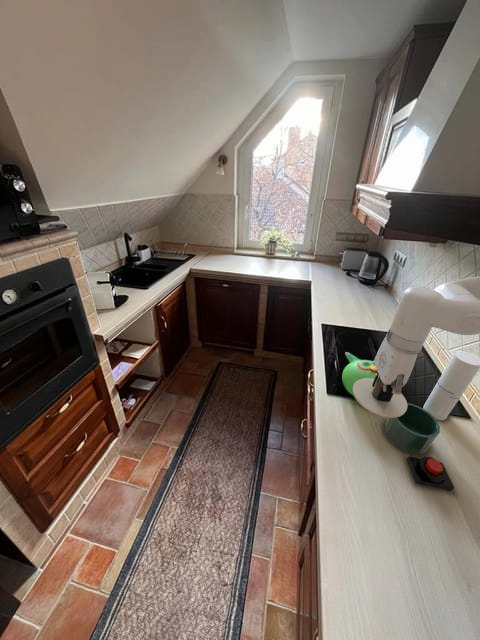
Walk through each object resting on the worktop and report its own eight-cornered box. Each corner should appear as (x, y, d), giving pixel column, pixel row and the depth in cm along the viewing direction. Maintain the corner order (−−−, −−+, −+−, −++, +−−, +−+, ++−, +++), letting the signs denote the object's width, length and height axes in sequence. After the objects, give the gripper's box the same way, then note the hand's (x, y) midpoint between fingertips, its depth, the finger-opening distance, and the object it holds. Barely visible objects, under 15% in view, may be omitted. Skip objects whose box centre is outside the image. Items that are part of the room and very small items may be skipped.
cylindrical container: (424, 400, 96) (454, 347, 83) (446, 410, 92) (482, 356, 79) (422, 413, 91) (454, 359, 78) (446, 423, 87) (484, 368, 74)
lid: (396, 385, 75) (405, 366, 71) (413, 424, 63) (425, 404, 60) (348, 377, 77) (354, 359, 73) (356, 414, 65) (364, 394, 62)
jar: (418, 423, 87) (429, 406, 83) (435, 458, 76) (448, 441, 72) (380, 416, 89) (387, 399, 85) (390, 449, 78) (400, 432, 74)
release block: (439, 465, 75) (444, 458, 73) (451, 491, 69) (457, 484, 67) (406, 459, 76) (410, 452, 74) (415, 483, 70) (420, 476, 68)
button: (436, 463, 72) (439, 459, 71) (442, 476, 69) (445, 472, 68) (422, 460, 73) (425, 457, 72) (428, 473, 70) (430, 470, 69)
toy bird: (340, 404, 93) (350, 374, 86) (336, 373, 107) (344, 345, 100) (393, 414, 90) (408, 384, 82) (382, 381, 104) (394, 353, 96)
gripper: (378, 319, 67) (359, 370, 77) (399, 358, 53) (373, 416, 63) (408, 322, 66) (386, 374, 76) (438, 364, 52) (406, 422, 61)
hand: (380, 393), depth 69 cm, fingers closed on lid, 4 cm apart
